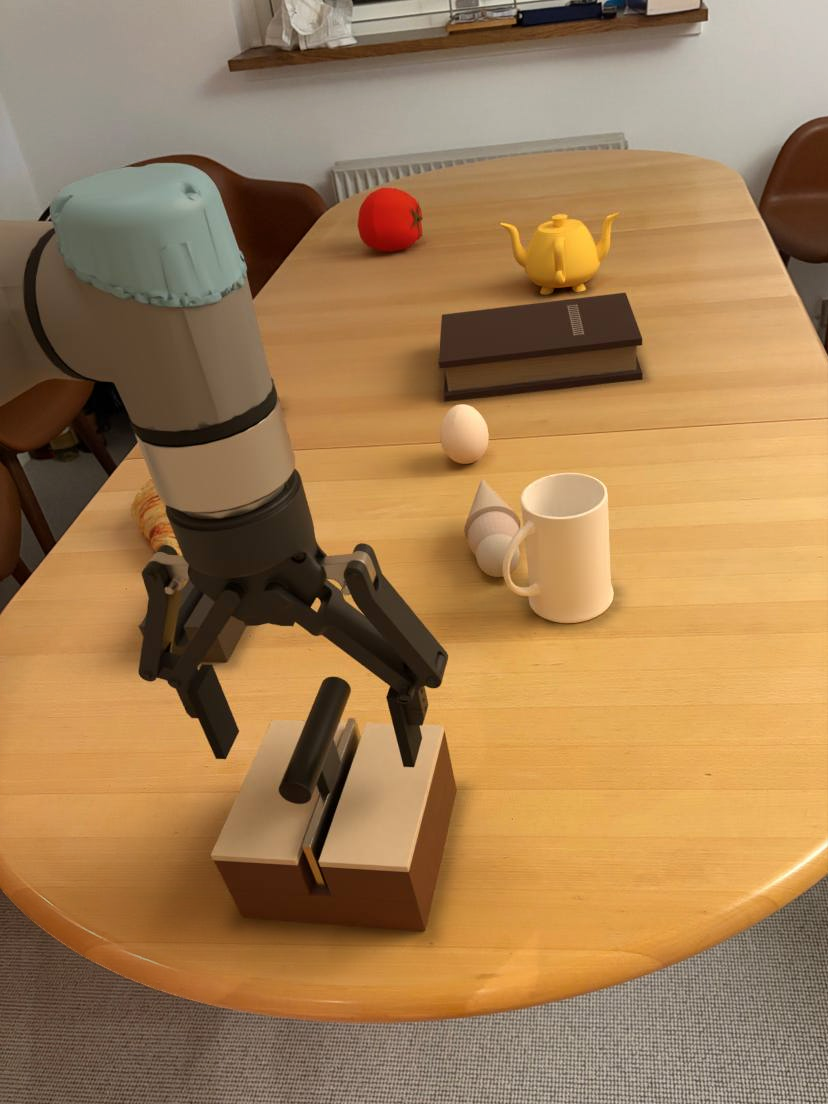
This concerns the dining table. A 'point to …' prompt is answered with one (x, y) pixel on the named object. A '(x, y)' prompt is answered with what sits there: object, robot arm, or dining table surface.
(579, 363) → the book
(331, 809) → the ulu knife
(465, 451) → the egg
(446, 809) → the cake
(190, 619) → the slotted block
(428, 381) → the dining table surface
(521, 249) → the teapot
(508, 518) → the ice cream cone
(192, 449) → the robot arm
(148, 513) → the croissant
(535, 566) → the mug
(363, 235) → the tomato
